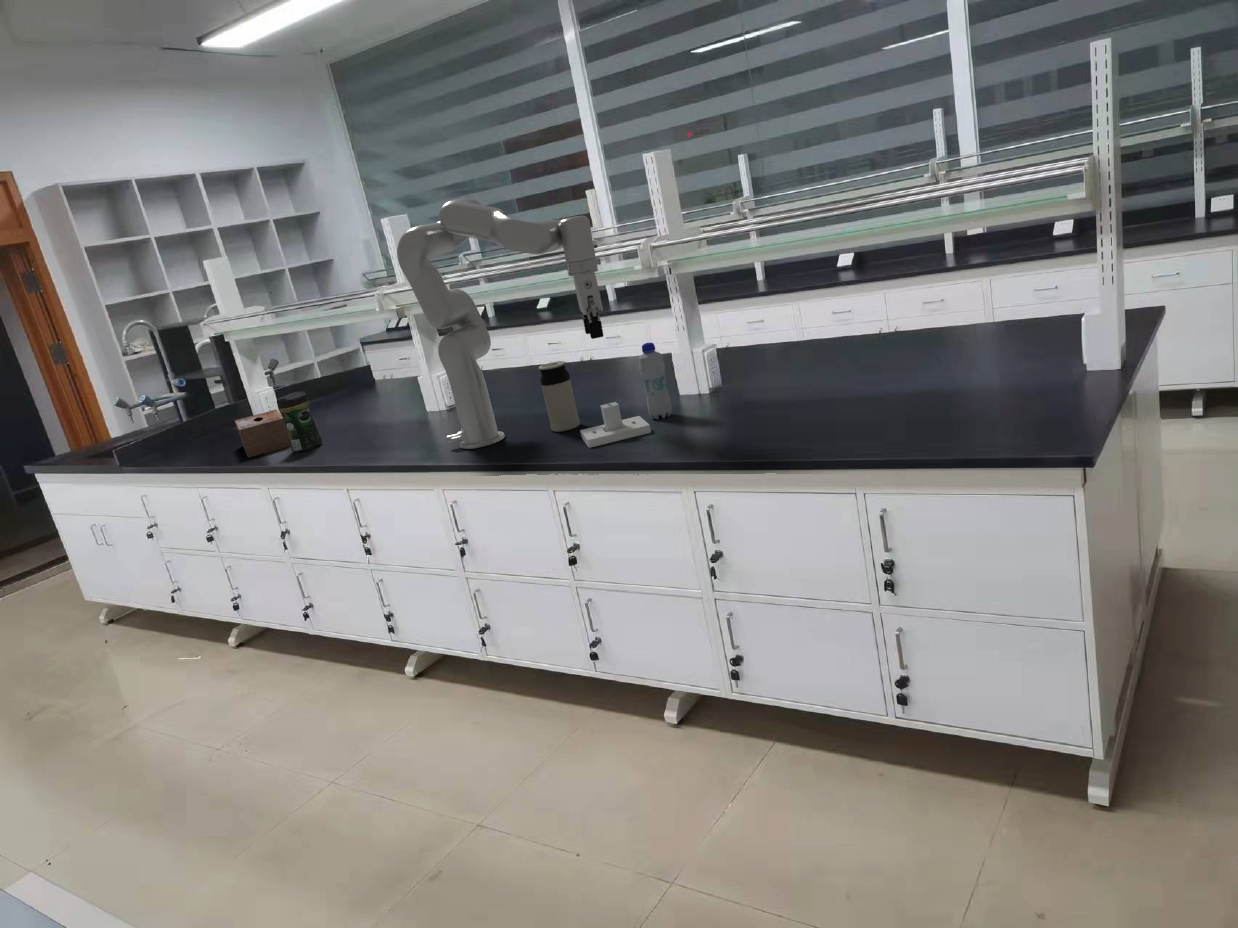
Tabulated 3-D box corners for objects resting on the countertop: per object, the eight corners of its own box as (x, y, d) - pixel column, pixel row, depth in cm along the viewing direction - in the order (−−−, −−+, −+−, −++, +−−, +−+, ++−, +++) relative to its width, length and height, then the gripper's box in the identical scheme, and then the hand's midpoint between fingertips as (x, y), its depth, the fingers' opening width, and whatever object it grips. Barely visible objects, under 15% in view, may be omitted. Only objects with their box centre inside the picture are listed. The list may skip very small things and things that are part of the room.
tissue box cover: (243, 447, 316) (234, 420, 313) (284, 435, 322) (276, 409, 319) (248, 458, 293) (238, 430, 290) (292, 446, 299) (283, 418, 296)
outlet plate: (589, 447, 217) (587, 439, 216) (581, 437, 228) (579, 429, 228) (651, 432, 219) (649, 424, 219) (640, 423, 231) (639, 415, 230)
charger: (609, 438, 222) (603, 407, 219) (606, 435, 226) (600, 405, 223) (624, 435, 222) (618, 404, 220) (621, 431, 226) (615, 401, 224)
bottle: (656, 413, 237) (642, 341, 231) (678, 412, 233) (664, 338, 228) (644, 421, 232) (629, 347, 226) (666, 420, 228) (652, 344, 222)
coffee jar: (311, 443, 295) (294, 390, 290) (326, 443, 290) (310, 388, 285) (287, 453, 287) (270, 398, 282) (303, 452, 283) (285, 397, 278)
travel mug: (553, 434, 238) (539, 369, 233) (550, 428, 246) (535, 365, 241) (582, 427, 239) (568, 363, 234) (577, 421, 247) (564, 359, 242)
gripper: (602, 266, 211) (614, 336, 216) (592, 263, 228) (603, 328, 233) (571, 272, 210) (584, 342, 215) (563, 268, 227) (576, 334, 232)
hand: (594, 335), depth 224 cm, fingers open, 9 cm apart
